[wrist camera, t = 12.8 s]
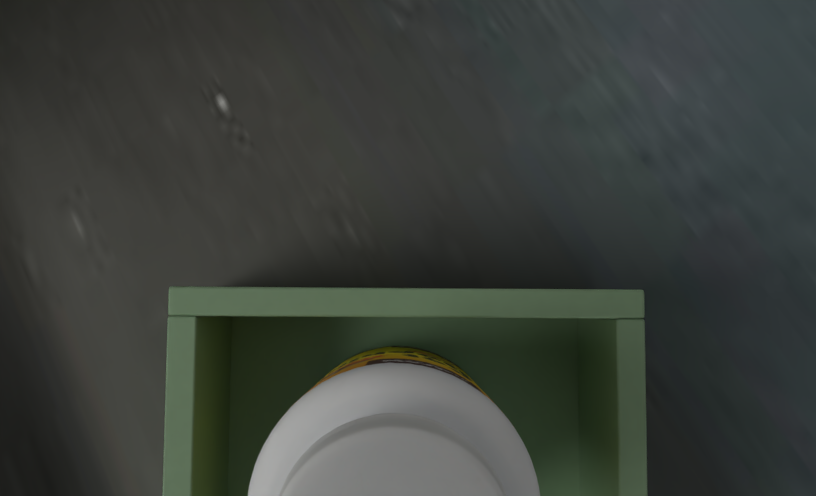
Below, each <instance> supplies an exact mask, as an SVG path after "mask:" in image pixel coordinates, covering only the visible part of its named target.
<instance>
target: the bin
mask: <svg viewBox="0 0 816 496" xmlns="http://www.w3.org/2000/svg"><path fill="white" fill-rule="evenodd" d="M168 314H169V315H170V316H169V317H168V327H167V361H166V395H165V429H164V463H163V496H248V489H249V484H250V480H251V476H252V473H253V470H254V466H255V463H256V461H257V458H258V456H259V454H260V452H261V449H262V447H263V445H264V443H265V442H266V440H267V438H268V437H269V435H270V433H271V432H272V430H273V429H274V427H275V426H276V424H277V423H278V422H279V420H280V419H281V418H282V417H283V415H284V414H285V413H286V412H287V411H288V410H289V408H290V407H291V406H292V405H293V404H294V403H295V402H297V401H298V400H299V399H300V398H301V397H302V396H303V395H304V394H305V393H307V392H308V391H309V390H310V389H311V388H312V387H313V386H315V385H316V384H317V383H318V382H319V381H320V380H321V379H322V378H323V377H325V376H326V375H327V374H328V373H329V372H330V371H331V370H333V369H334V368H335V367H337V366H338V365H339V364H341V363H342V362H344V361H346V360H347V359H349V358H351V357H353V356H355V355H357V354H359V353H362V352H364V351H367V350H371V349H374V348H378V347H385V346H410V347H416V348H421V349H425V350H428V351H431V352H434V353H436V354H438V355H440V356H442V357H444V358H446V359H448V360H450V361H451V362H453V363H454V364H456V365H457V366H459V367H460V368H461V369H462V370H463V371H464V372H465V373H466V374H467V375H468V376H469V377H470V378H471V379H472V380H473V381H474V382H475V383H476V384H477V385H478V386H479V388H480V389H481V390H482V391H483V392H484V393H485V394H487V395H488V397H489V398H490V399H491V400H492V401H493V402H494V403H495V404H496V406H497V407H498V408H499V409H500V410H501V411H502V412H503V413H504V415H505V416H506V417H507V418H508V420H509V421H510V422H511V424H512V425H513V426H514V428H515V430H516V431H517V433H518V434H519V436H520V438H521V439H522V441H523V443H524V445H525V447H526V449H527V451H528V453H529V456H530V458H531V461H532V463H533V467H534V470H535V473H536V476H537V481H538V485H539V491H540V496H647V435H646V372H645V321H644V320H643V319H642V318H644V316H645V309H644V291H643V290H620V289H476V288H332V287H189V286H172V287H170V288H169V299H168Z"/></svg>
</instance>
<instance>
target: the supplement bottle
mask: <svg viewBox="0 0 816 496" xmlns="http://www.w3.org/2000/svg"><path fill="white" fill-rule="evenodd" d="M248 496H540V491H539V485H538V481H537V476H536V473H535V470H534V467H533V463H532V461H531V458H530V456H529V453H528V451H527V449H526V447H525V445H524V443H523V441H522V439H521V438H520V436H519V434H518V433H517V431H516V430H515V428H514V426H513V425H512V424H511V422H510V421H509V420H508V418H507V417H506V416H505V415H504V413H503V412H502V411H501V410H500V409H499V408H498V407H497V406H496V404H495V403H494V402H493V401H492V400H491V399H490V398H489V397H488V395H487V394H485V393H484V392H483V391H482V390H481V389H480V388H479V386H478V385H477V384H476V383H475V382H474V381H473V380H472V379H471V378H470V377H469V376H468V375H467V374H466V373H465V372H464V371H463V370H462V369H461V368H460V367H459V366H457V365H456V364H454V363H453V362H451V361H450V360H448V359H446V358H444V357H442V356H440V355H438V354H436V353H434V352H431V351H428V350H425V349H421V348H416V347H410V346H385V347H378V348H374V349H371V350H367V351H364V352H362V353H359V354H357V355H355V356H353V357H351V358H349V359H347V360H346V361H344V362H342V363H341V364H339V365H338V366H337V367H335V368H334V369H333V370H331V371H330V372H329V373H328V374H327V375H326V376H325V377H323V378H322V379H321V380H320V381H319V382H318V383H317V384H316V385H315V386H313V387H312V388H311V389H310V390H309V391H308V392H307V393H305V394H304V395H303V396H302V397H301V398H300V399H299V400H298V401H297V402H295V403H294V404H293V405H292V406H291V407H290V408H289V410H288V411H287V412H286V413H285V414H284V415H283V417H282V418H281V419H280V420H279V422H278V423H277V424H276V426H275V427H274V429H273V430H272V432H271V433H270V435H269V437H268V438H267V440H266V442H265V443H264V445H263V447H262V449H261V452H260V454H259V456H258V458H257V461H256V463H255V466H254V470H253V473H252V476H251V480H250V484H249V489H248Z"/></svg>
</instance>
